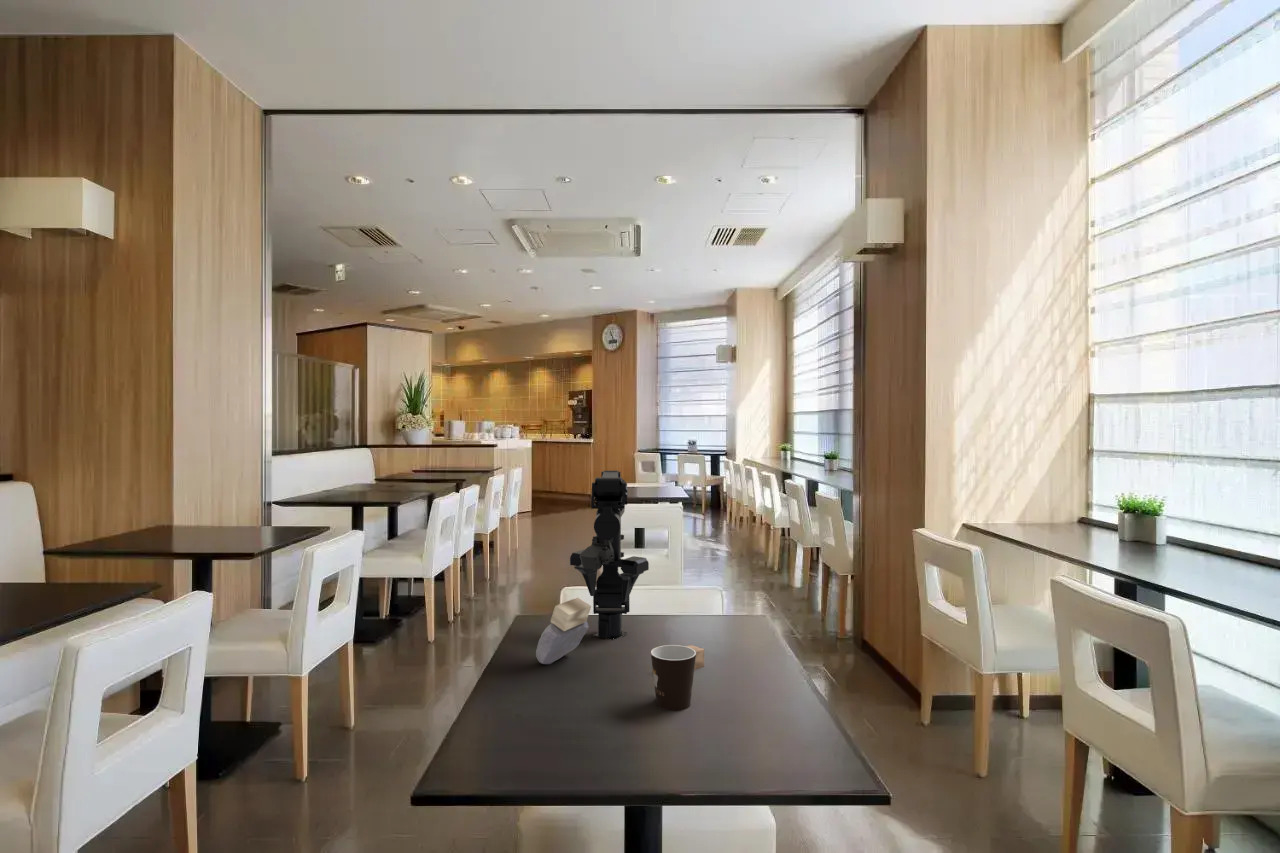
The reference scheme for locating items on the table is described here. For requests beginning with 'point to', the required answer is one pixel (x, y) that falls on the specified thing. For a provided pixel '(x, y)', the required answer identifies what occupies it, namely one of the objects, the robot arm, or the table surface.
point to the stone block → (558, 642)
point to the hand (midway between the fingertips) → (608, 598)
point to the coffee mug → (673, 676)
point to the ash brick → (570, 614)
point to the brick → (698, 657)
